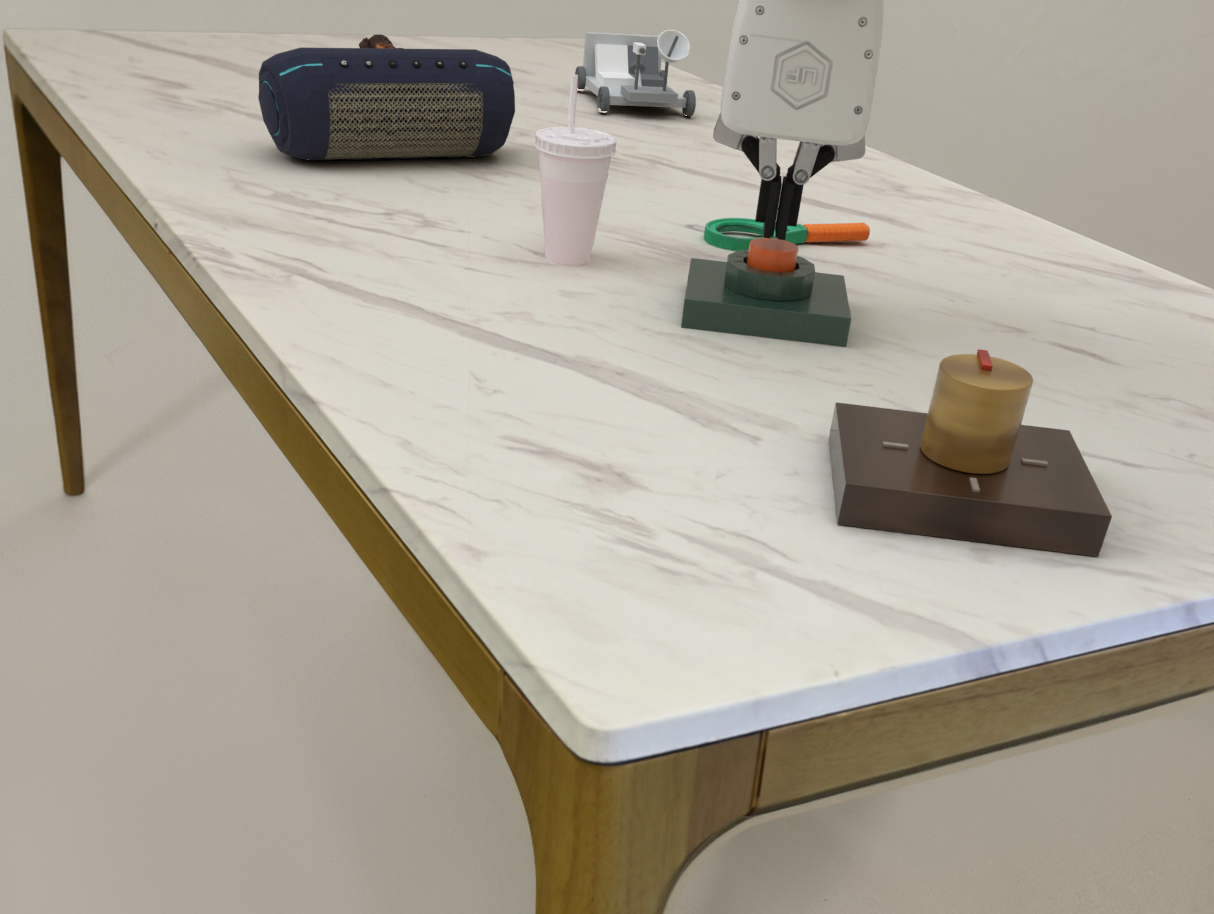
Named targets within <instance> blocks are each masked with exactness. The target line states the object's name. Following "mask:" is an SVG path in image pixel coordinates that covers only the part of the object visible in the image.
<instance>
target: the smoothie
mask: <svg viewBox="0 0 1214 914" xmlns="http://www.w3.org/2000/svg"><path fill="white" fill-rule="evenodd" d="M569 80H570V82H569V94H568V95H569V97H568V112H567V126H549V127H545V128H541V129H539V130H537V131H536V132H535V140H534V141H535V142H534V148H536V150H538V165H539V166H538V167H539V179H540V182H539V183H540V194H541V195H540V196H541V197H540V198H541V213H542V214H541V215H542V228H543V246H544V258H545V260H546V261H548V262H550V263H552V264H555V265H559V266H566V267H580V266H581V267H582V266H585V265H588V264H589V263H591V260H592V254H593V249H594V244H595V239H596V234H597V229H598V226H599V220H600V215H601V209H602V205H603V201H604V194H605V190H606V185H607V181H608V177H609V170H610V166H611V160H612V157H614V156H615V155H616V154H617V139H616V137H615V136H613V135H612V134H609V133H607V132H604V131H602V130H598V129H597V130H596V129H592V128H587V127H580V126H579V127H578V126H576V113H577V99H578V98H577V96H578V92H577V84H578V75H576V74H575V73H571V74H570V79H569Z"/></svg>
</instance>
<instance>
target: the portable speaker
mask: <svg viewBox="0 0 1214 914" xmlns="http://www.w3.org/2000/svg"><path fill="white" fill-rule="evenodd" d="M515 94H516V93H515V87H514V78H513V75H512V70H511V68H510V65H509V63H507V62H506V61H505V60H504V59H502V58H500V57H499V56H497V55H494V54H491V53H488V52H484V51H482V50H478V49H474V48H472V49H471V48H469V49H468V48H467V49H466V48H464V49H463V48H404V49H391V48H360V47H298V48H294V49H290V50H286V51H282V52H278V53H276V54H274V55H272V56H270V57H269V58H267V59H265V60H263V61H262V62H261V66H260V68H259V71H258V97H257V99H258V103H259V107H260V112H261V115H262V120H263V123H264V124H265V127H266V129H267V131H268V134H269V136H270V137H271V139H272V141H273V143H274V144H275V147H276V149H277V150H278V151H279V152H280V153H282V154H285V155H286V156H289V157H292V158H294V157H295V158H294V159H297V158H300V159H299V160H303V159H309V160H308V161H310V160H313V161H340V160H339V159H358V160H380V159H379V158H402V159H428V158H427V157H447V158H468V157H467V156H478V157H482V156H486V155H492V154H494V153H495V152H496V151H498V150H500V149H501V148H502V147H504V146H505V144H506V141H507V139H508V137H509V135H510V130H511V128H512V127H511V126H512V124H513V120H514V118H515V117H514V116H515V113H516V95H515ZM465 156H466V157H465ZM425 157H426V158H425ZM337 159H338V160H337Z"/></svg>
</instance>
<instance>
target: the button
mask: <svg viewBox="0 0 1214 914" xmlns="http://www.w3.org/2000/svg"><path fill="white" fill-rule="evenodd" d="M756 238H757V239H753V240H751V241H750V244H749V251H748V258H747V265H749V266H750V267H753V268H756V269H760V270H763V271H771V272H779V273H781V272H793V271H795V266H796V260H797V256H798V254H799V246H798V245H797V244H793V243H791V242H788V241H785V240H778V239H775V238H759V237H756Z"/></svg>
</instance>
